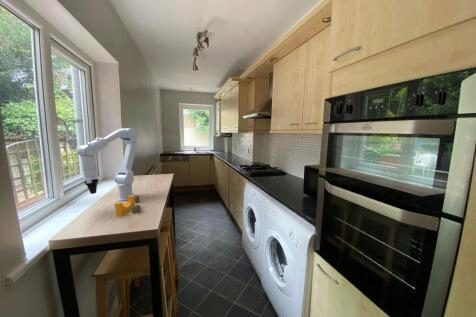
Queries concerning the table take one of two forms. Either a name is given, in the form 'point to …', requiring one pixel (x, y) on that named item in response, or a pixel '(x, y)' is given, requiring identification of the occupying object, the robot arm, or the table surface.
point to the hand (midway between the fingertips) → (93, 193)
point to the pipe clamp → (124, 206)
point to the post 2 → (135, 208)
